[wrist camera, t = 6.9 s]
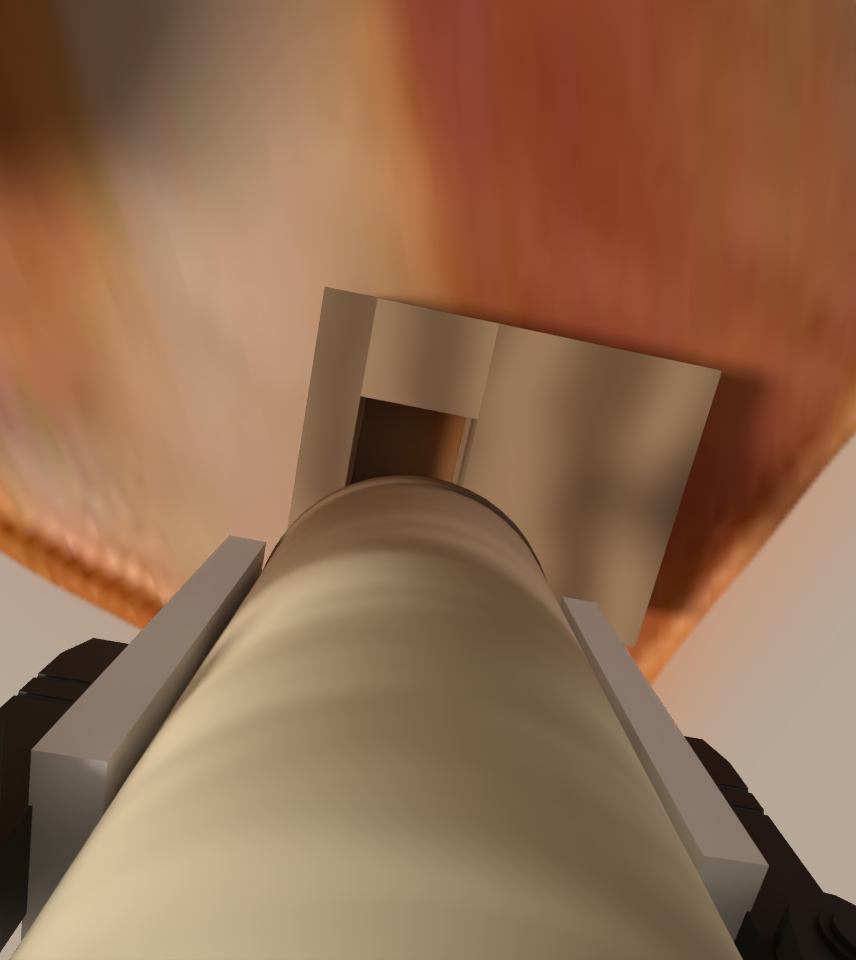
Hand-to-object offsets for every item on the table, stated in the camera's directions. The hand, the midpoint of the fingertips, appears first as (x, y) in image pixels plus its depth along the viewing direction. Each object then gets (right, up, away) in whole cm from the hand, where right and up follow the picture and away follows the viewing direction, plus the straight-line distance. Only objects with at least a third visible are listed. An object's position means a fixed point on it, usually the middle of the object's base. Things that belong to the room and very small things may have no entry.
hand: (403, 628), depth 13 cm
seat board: (+3, +4, +20) cm, 21 cm away
